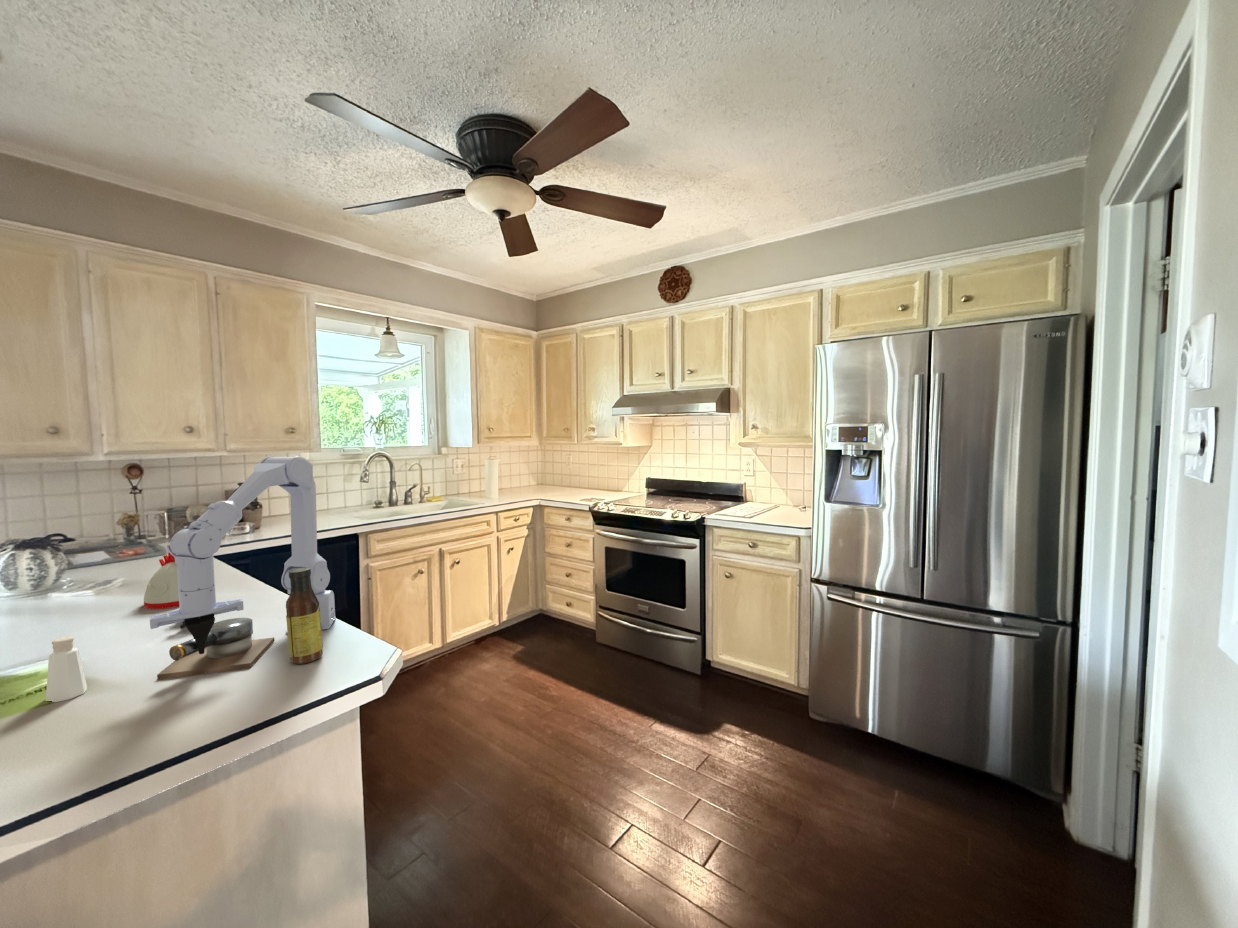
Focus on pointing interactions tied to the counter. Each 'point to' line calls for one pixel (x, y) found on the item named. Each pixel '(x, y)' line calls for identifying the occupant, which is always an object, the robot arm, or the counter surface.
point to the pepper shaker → (65, 671)
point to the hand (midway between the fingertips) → (201, 652)
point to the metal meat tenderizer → (216, 636)
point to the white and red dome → (163, 586)
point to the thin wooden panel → (219, 658)
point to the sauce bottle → (303, 619)
